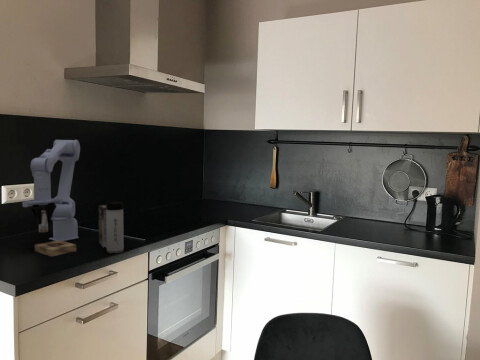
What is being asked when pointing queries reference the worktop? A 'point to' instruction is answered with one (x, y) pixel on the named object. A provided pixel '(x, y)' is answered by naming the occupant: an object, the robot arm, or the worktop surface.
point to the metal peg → (44, 222)
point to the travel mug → (114, 226)
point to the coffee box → (102, 225)
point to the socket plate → (55, 248)
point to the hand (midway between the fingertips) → (43, 223)
